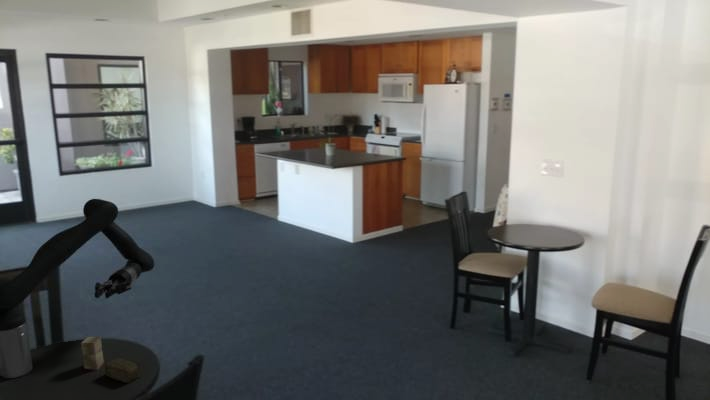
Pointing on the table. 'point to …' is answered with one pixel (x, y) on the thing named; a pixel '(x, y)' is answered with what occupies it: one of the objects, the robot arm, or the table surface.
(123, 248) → the robot arm
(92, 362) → the maple block
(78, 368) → the table surface
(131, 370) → the stone block
